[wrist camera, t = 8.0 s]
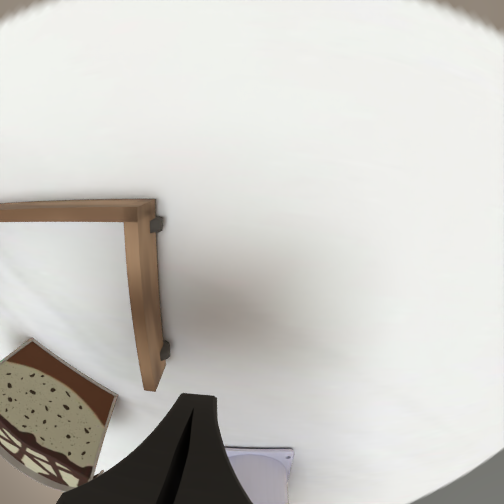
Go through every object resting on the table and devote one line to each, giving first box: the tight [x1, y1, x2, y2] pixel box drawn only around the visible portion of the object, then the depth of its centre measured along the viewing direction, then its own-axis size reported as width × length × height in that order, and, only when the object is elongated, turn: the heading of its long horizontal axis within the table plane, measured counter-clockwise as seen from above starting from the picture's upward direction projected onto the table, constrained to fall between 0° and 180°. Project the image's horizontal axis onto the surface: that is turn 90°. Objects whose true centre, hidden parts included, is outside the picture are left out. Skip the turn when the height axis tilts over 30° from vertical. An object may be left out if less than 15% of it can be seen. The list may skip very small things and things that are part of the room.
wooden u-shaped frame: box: [0, 199, 170, 392], centre depth 19 cm, size 12×21×4 cm, turn 88°
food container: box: [0, 338, 118, 492], centre depth 19 cm, size 12×6×10 cm, turn 58°
